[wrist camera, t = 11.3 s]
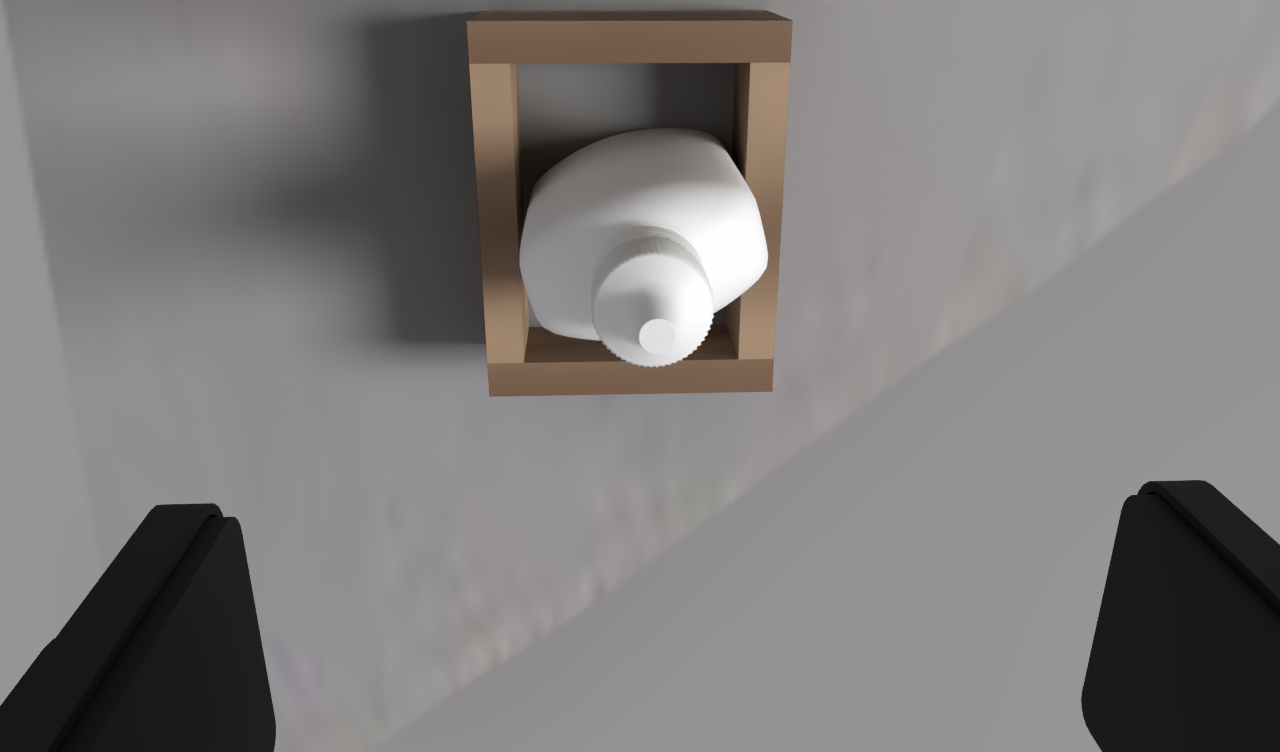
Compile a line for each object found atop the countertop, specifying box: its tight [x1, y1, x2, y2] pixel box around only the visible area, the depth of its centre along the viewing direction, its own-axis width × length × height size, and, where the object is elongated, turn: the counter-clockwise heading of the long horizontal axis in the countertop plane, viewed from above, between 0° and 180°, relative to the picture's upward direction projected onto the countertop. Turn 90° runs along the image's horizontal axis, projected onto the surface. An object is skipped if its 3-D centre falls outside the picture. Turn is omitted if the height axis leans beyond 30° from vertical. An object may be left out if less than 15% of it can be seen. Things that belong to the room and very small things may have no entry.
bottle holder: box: [467, 11, 793, 396], centre depth 29 cm, size 10×8×4 cm
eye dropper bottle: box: [519, 128, 768, 368], centre depth 24 cm, size 4×6×12 cm
